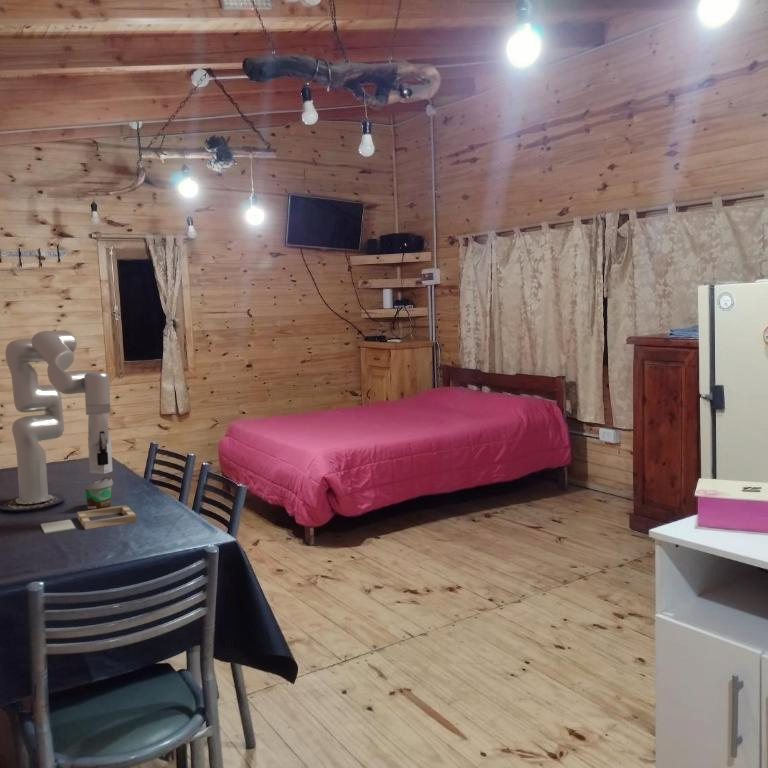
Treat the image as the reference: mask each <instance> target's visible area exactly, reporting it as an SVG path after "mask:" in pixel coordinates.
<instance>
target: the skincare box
mask: <svg viewBox="0 0 768 768" xmlns="http://www.w3.org/2000/svg"><path fill="white" fill-rule="evenodd" d="M106 442H107V440H106ZM99 443H101V442H99ZM87 445H88V463H89V464H88V465H89V474H100V475H101V474H102V475H104V474H105V475H106V474H108V473H111V472H113V457H112V453H113V452H112V438H111V435H109V443H108V444H107V452H108V464H107V465H98V463H97V453H98V448H97V444H95V445H92V444H91V443H90V437H87Z"/></svg>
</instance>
